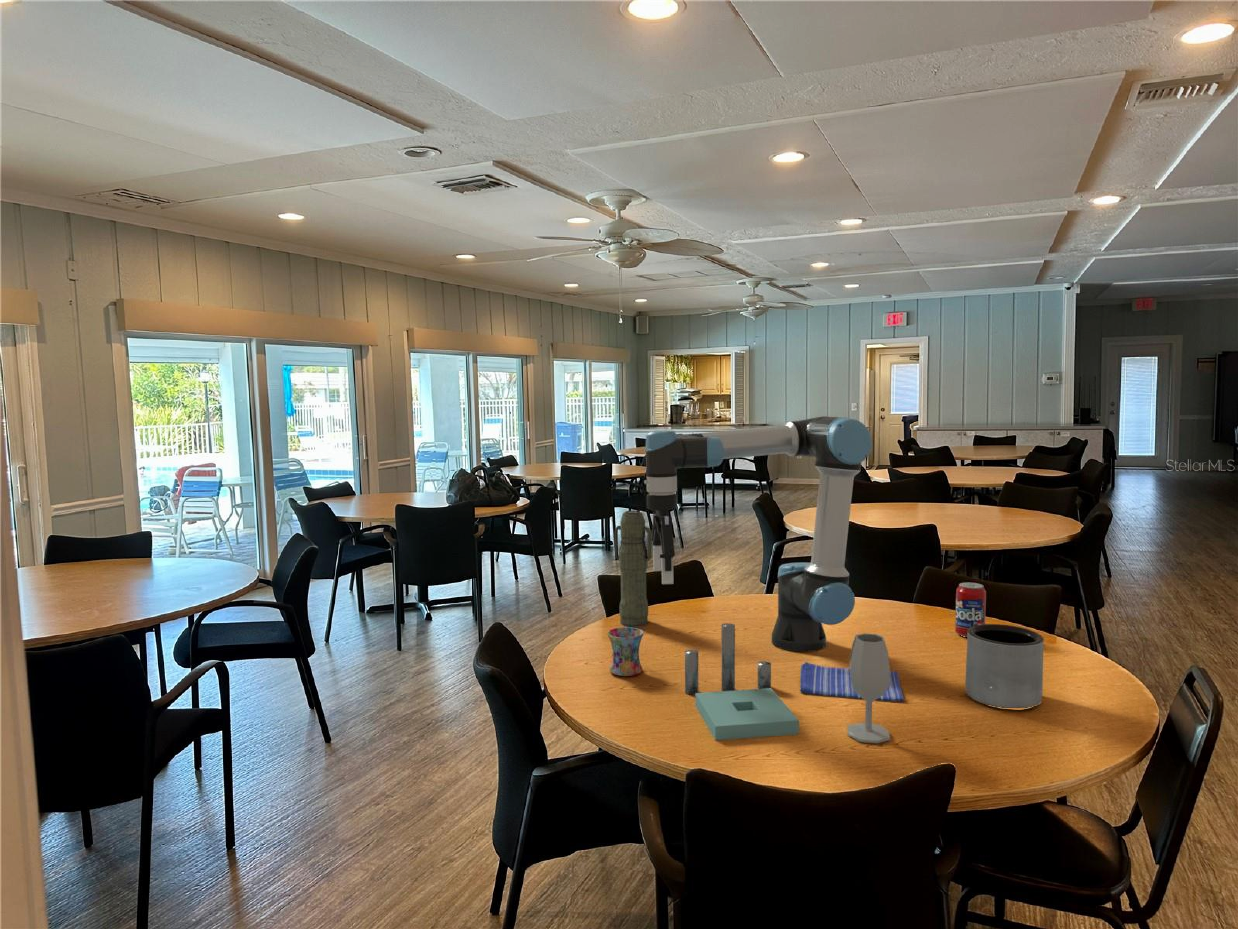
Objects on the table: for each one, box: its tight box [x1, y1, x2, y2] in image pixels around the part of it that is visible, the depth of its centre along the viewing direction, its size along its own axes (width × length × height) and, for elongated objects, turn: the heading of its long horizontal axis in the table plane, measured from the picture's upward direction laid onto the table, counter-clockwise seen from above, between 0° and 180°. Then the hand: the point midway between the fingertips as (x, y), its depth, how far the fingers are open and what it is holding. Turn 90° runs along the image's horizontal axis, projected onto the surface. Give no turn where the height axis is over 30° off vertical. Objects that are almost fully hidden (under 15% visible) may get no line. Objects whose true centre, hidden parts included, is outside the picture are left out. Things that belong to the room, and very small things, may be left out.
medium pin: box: [684, 649, 700, 696], centre depth 188 cm, size 3×3×10 cm
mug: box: [607, 626, 645, 677], centre depth 203 cm, size 12×9×11 cm
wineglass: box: [847, 632, 891, 744], centre depth 162 cm, size 9×9×21 cm
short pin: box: [757, 660, 772, 689], centre depth 190 cm, size 3×3×6 cm
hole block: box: [694, 687, 800, 741], centre depth 172 cm, size 18×18×3 cm
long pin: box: [720, 622, 736, 691], centre depth 188 cm, size 3×3×16 cm
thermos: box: [613, 510, 653, 628], centre depth 243 cm, size 9×12×35 cm
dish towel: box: [799, 661, 905, 703], centre depth 191 cm, size 17×24×3 cm
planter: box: [964, 623, 1045, 708], centre depth 181 cm, size 16×16×16 cm
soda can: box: [954, 581, 987, 638], centre depth 227 cm, size 8×8×15 cm
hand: (663, 577), depth 196 cm, fingers open, 13 cm apart
